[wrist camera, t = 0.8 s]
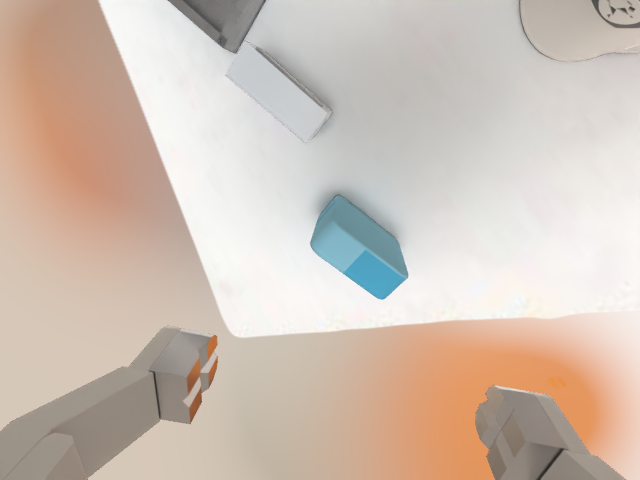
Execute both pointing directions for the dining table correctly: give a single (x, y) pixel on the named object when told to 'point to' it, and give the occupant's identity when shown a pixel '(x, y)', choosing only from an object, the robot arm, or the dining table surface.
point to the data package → (359, 248)
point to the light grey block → (278, 92)
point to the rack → (222, 18)
